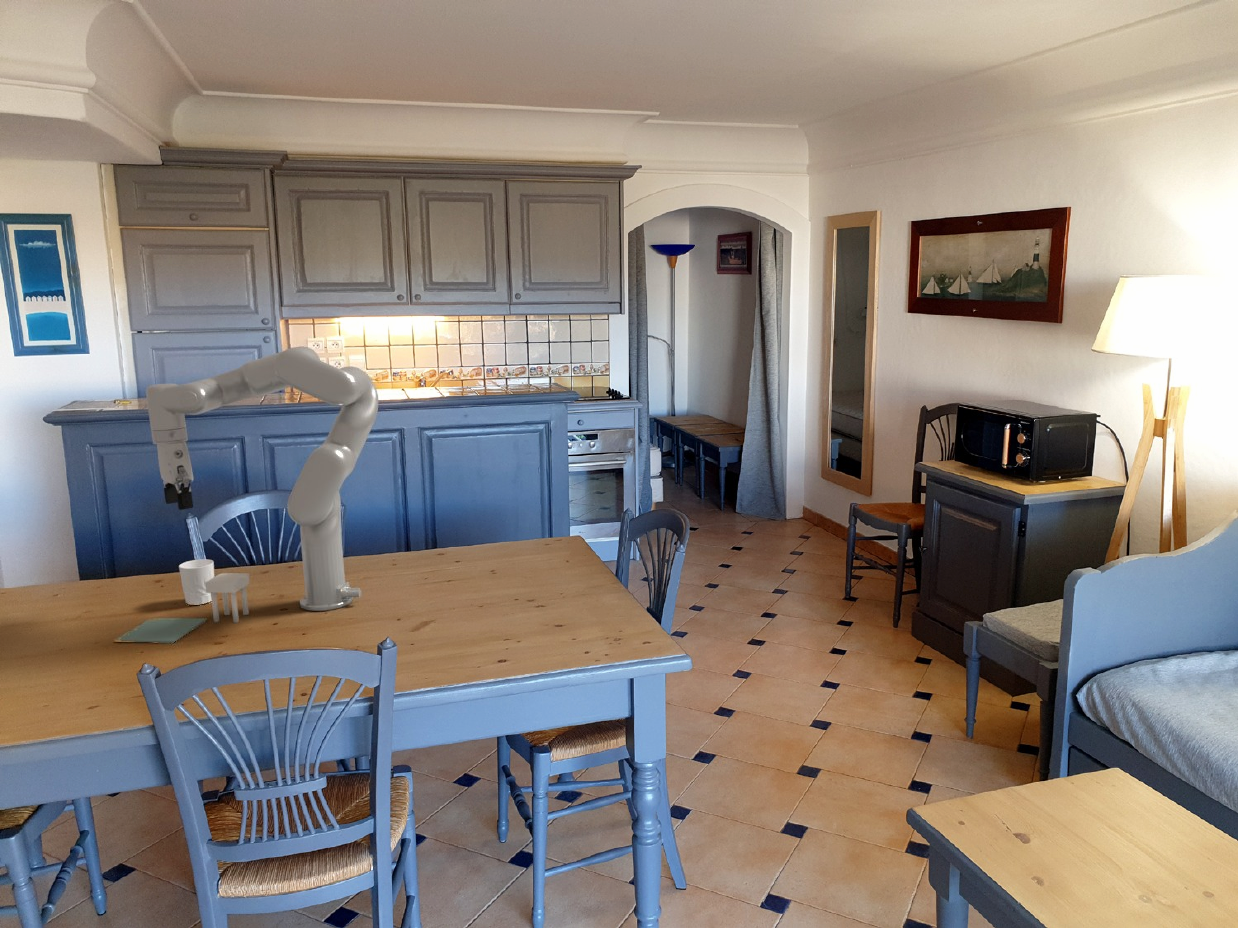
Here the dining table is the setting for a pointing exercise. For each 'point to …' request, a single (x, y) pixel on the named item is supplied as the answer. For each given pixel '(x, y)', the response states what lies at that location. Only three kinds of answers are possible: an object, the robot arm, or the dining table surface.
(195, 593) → the white cup
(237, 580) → the stool
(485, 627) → the dining table surface
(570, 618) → the dining table surface
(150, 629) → the mat
